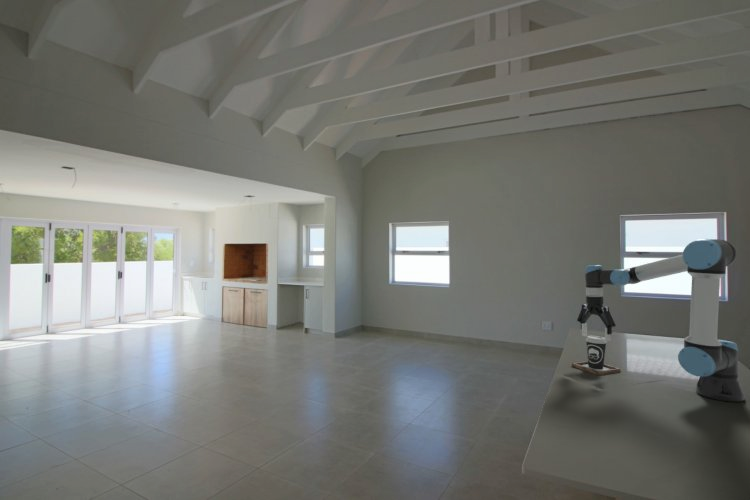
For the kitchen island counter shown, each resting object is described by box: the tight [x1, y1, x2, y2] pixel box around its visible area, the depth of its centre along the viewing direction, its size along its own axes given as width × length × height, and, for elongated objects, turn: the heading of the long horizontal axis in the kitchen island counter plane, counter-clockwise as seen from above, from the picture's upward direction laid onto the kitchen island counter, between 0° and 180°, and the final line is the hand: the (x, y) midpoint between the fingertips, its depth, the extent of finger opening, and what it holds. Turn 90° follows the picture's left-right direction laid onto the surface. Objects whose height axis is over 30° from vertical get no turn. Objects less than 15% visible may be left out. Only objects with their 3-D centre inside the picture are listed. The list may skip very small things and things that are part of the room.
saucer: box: [582, 364, 610, 371], centre depth 198 cm, size 13×13×1 cm
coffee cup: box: [585, 335, 608, 369], centre depth 198 cm, size 10×10×15 cm
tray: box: [571, 360, 622, 376], centre depth 198 cm, size 16×14×3 cm
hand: (596, 338), depth 198 cm, fingers open, 13 cm apart
